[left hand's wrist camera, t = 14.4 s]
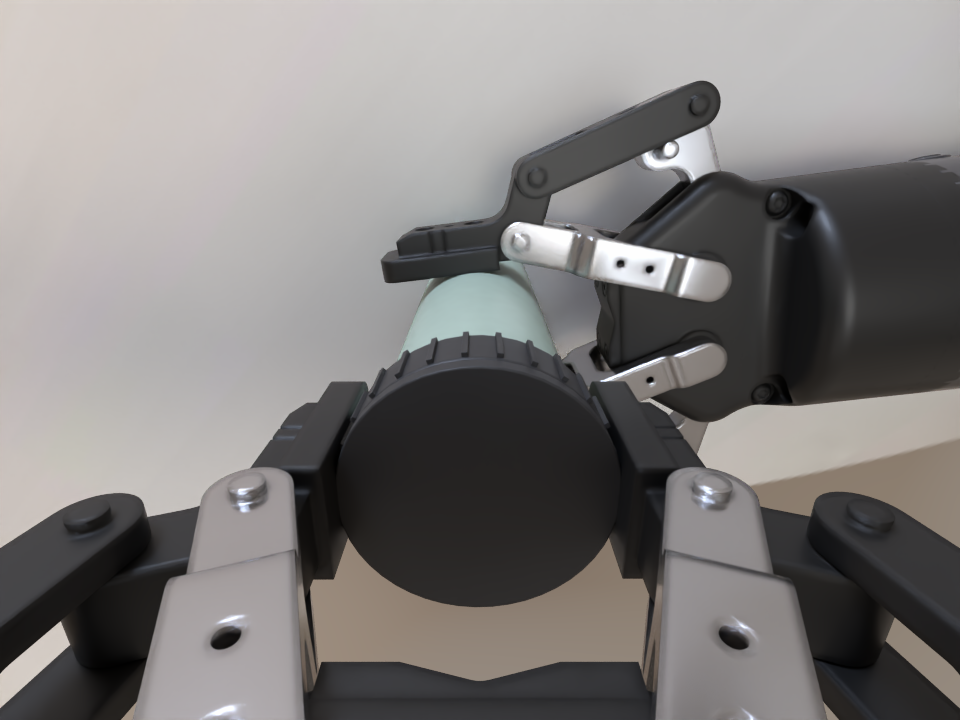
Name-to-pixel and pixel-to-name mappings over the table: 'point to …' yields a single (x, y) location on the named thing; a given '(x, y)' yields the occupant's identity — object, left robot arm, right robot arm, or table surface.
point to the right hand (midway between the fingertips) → (402, 338)
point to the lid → (478, 472)
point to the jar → (480, 309)
